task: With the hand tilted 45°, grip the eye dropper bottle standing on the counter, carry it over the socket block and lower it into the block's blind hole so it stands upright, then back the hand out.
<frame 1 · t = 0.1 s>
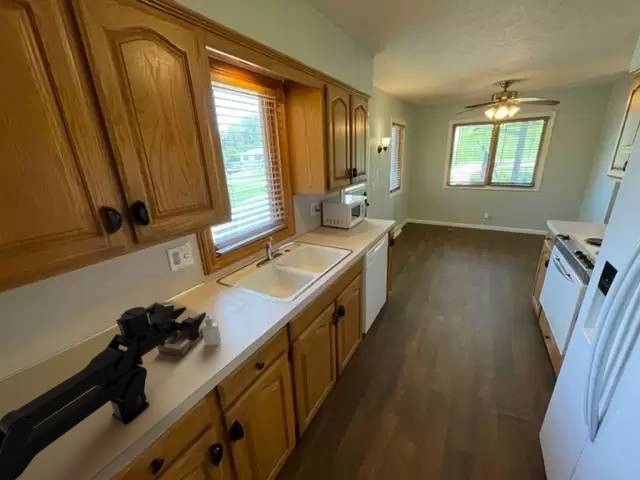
hand: (195, 310, 92), 17 cm above the counter, tool horizontal, fingers open, 9 cm apart
eye dropper bottle: (213, 343, 101), on the counter
socket block: (182, 344, 101), on the counter
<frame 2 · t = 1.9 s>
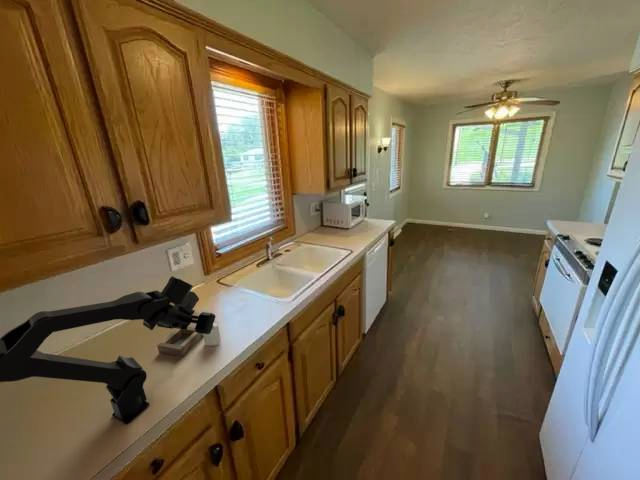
hand: (200, 324, 94), 11 cm above the counter, tool tilted 45°, fingers open, 9 cm apart
nothing on the counter moved.
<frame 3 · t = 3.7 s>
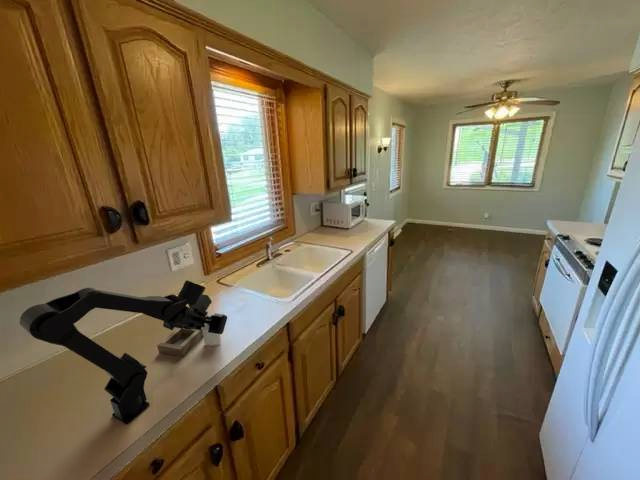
hand: (212, 325, 100), 7 cm above the counter, tool tilted 45°, fingers closed on eye dropper bottle, 5 cm apart
eye dropper bottle: (213, 343, 101), on the counter, touching gripper
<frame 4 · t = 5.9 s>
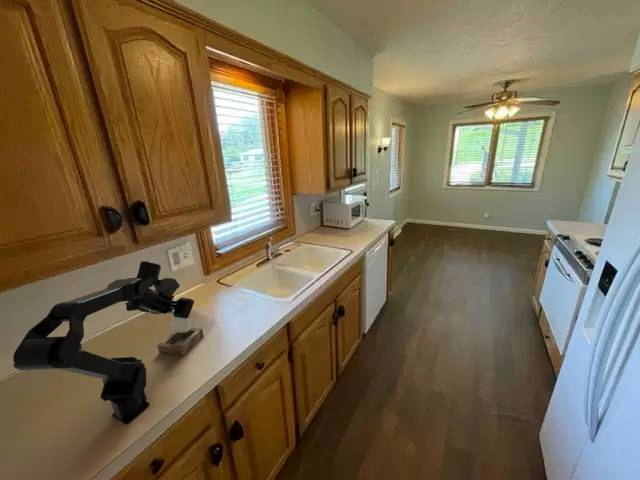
hand: (182, 311, 98), 13 cm above the counter, tool tilted 45°, fingers closed on eye dropper bottle, 5 cm apart
eye dropper bottle: (182, 330, 99), point 6 cm above the counter, touching gripper
when the fingers open (8 cm above the counter, at t = 8.1 s): eye dropper bottle stays where it is, resting on socket block.
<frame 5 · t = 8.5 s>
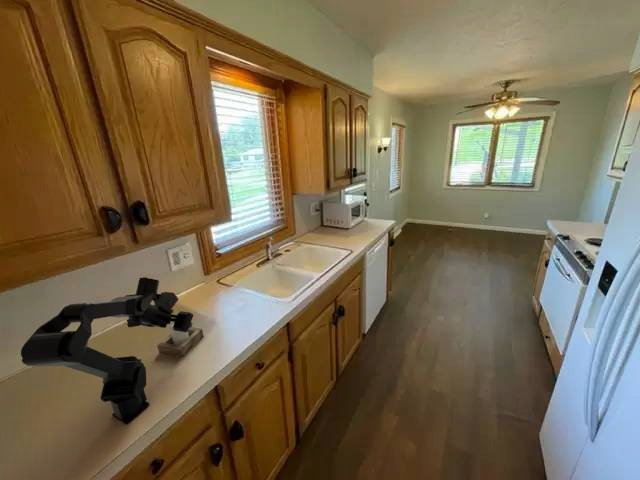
hand: (180, 323, 100), 8 cm above the counter, tool tilted 45°, fingers open, 9 cm apart
eye dropper bottle: (182, 344, 100), resting on socket block
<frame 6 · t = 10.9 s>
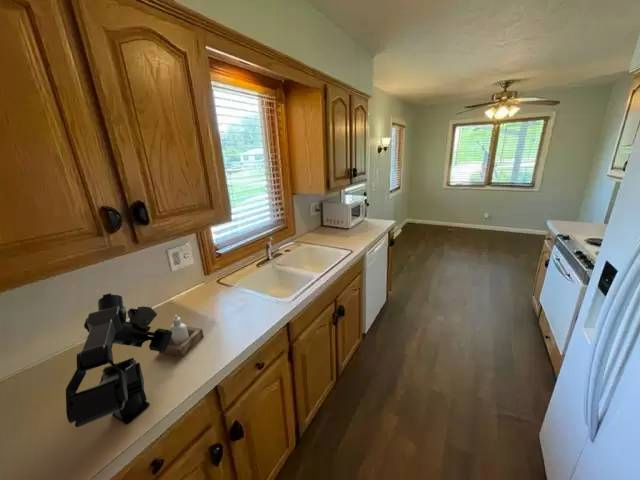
hand: (160, 340, 91), 8 cm above the counter, tool tilted 45°, fingers open, 9 cm apart
nothing on the counter moved.
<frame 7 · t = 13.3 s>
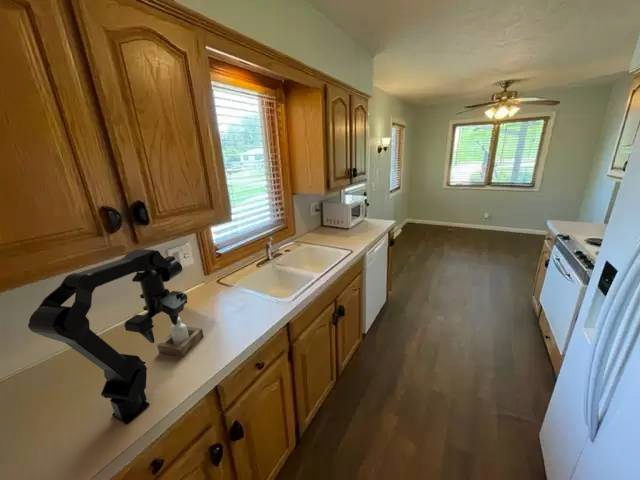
hand: (164, 333, 87), 13 cm above the counter, tool pointing down, fingers open, 9 cm apart
nothing on the counter moved.
at the end: eye dropper bottle 0.1 cm off-centre on the socket block, point 0.3 cm above the socket block's base; eye dropper bottle tilted 0°; the gripper is holding nothing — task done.
